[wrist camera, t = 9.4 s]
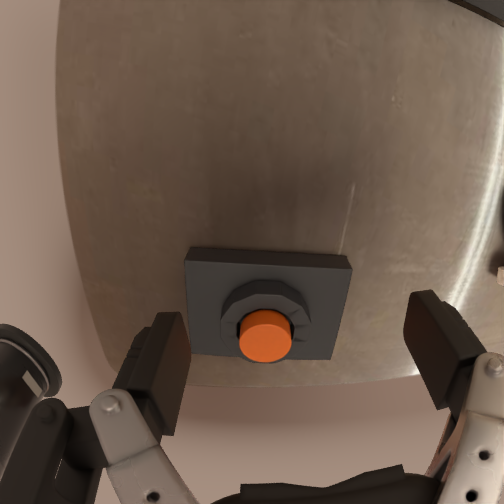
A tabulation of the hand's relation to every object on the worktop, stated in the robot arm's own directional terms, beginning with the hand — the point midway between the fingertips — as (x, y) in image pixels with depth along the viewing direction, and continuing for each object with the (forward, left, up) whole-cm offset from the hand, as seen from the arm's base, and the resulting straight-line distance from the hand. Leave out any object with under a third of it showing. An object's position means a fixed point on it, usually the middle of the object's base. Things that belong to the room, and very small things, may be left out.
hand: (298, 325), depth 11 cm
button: (0, -8, -10) cm, 13 cm away
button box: (0, -8, -13) cm, 16 cm away
